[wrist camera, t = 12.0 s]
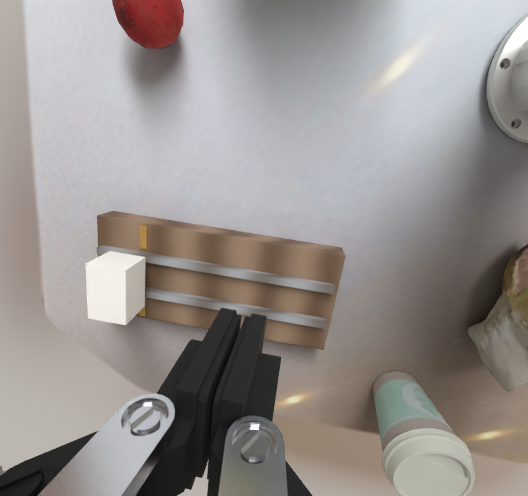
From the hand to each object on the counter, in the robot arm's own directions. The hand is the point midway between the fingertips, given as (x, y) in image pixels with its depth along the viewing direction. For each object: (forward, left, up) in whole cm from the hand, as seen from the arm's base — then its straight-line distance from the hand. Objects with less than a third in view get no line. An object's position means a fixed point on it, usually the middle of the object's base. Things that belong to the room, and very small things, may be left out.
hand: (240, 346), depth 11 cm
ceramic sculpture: (-28, +6, -26) cm, 39 cm away
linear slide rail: (+6, +9, -26) cm, 28 cm away
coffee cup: (-19, +21, -26) cm, 38 cm away
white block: (+15, +9, -22) cm, 28 cm away
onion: (+14, -17, -26) cm, 34 cm away
